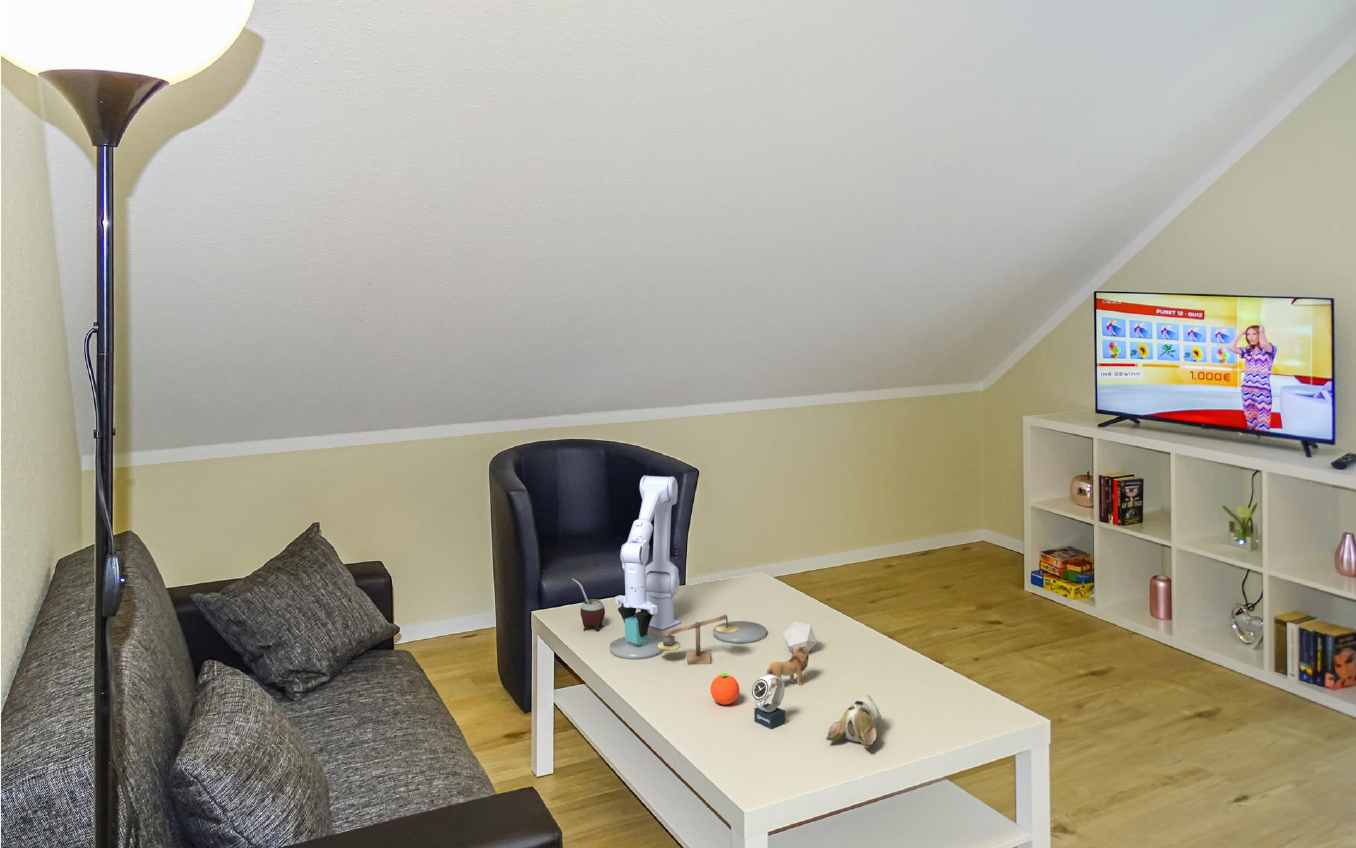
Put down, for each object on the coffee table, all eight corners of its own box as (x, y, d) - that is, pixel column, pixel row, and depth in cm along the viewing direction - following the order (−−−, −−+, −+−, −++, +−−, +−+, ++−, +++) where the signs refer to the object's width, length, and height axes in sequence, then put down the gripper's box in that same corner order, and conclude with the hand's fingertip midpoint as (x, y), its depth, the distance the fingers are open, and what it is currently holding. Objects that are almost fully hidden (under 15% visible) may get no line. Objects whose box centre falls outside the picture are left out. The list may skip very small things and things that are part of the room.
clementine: (710, 695, 247) (710, 667, 246) (739, 695, 247) (738, 667, 246) (710, 709, 239) (710, 680, 238) (740, 709, 239) (739, 680, 238)
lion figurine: (799, 675, 258) (799, 641, 257) (814, 681, 254) (814, 646, 253) (756, 690, 249) (756, 655, 248) (771, 697, 245) (771, 661, 244)
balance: (658, 665, 267) (657, 621, 265) (657, 657, 273) (656, 613, 271) (739, 662, 267) (739, 618, 266) (737, 654, 273) (736, 611, 271)
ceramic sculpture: (891, 692, 225) (870, 722, 212) (892, 728, 227) (871, 760, 214) (845, 684, 230) (822, 713, 217) (846, 719, 232) (823, 750, 219)
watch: (748, 724, 231) (747, 677, 229) (773, 714, 236) (773, 668, 234) (765, 732, 227) (765, 685, 225) (790, 721, 232) (790, 675, 230)
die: (822, 653, 274) (813, 619, 278) (814, 648, 267) (805, 613, 271) (794, 662, 276) (785, 628, 281) (785, 657, 269) (776, 622, 273)
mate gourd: (609, 629, 295) (608, 579, 293) (585, 635, 290) (584, 584, 288) (597, 622, 301) (595, 573, 299) (573, 628, 297) (571, 578, 294)
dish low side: (598, 650, 278) (598, 646, 278) (637, 635, 289) (637, 631, 289) (637, 663, 268) (636, 659, 268) (676, 648, 279) (675, 643, 279)
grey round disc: (702, 635, 288) (702, 631, 288) (736, 621, 299) (736, 617, 299) (743, 647, 278) (743, 643, 278) (777, 633, 289) (777, 628, 289)
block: (625, 640, 278) (624, 619, 277) (637, 635, 281) (636, 615, 280) (636, 644, 275) (636, 622, 274) (648, 639, 278) (648, 618, 277)
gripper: (606, 584, 278) (608, 631, 280) (644, 594, 268) (645, 643, 270) (625, 578, 283) (626, 625, 285) (662, 588, 273) (663, 636, 275)
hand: (636, 633), depth 278 cm, fingers closed on block, 4 cm apart
